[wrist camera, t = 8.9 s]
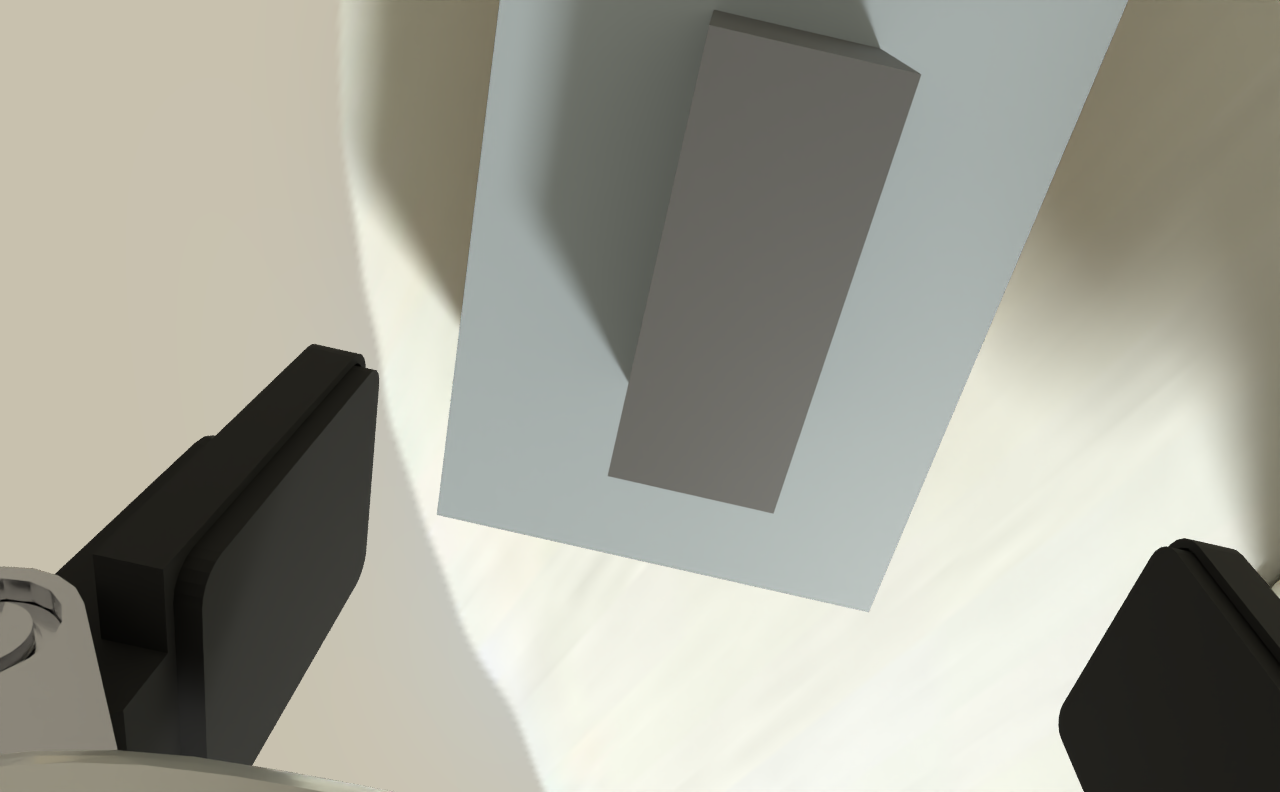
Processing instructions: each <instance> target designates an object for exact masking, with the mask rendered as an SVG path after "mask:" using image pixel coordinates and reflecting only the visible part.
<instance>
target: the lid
mask: <svg viewBox="0 0 1280 792" xmlns="http://www.w3.org/2000/svg"><path fill="white" fill-rule="evenodd" d="M1127 2H1128V0H500V3H499V11H498V19H497V27H496V35H495V43H494V52H493V60H492V68H491V76H490V84H489V93H488V101H487V109H486V117H485V125H484V134H483V142H482V150H481V158H480V166H479V174H478V183H477V191H476V199H475V207H474V215H473V224H472V232H471V240H470V248H469V256H468V264H467V273H466V281H465V289H464V297H463V305H462V314H461V322H460V330H459V338H458V346H457V354H456V363H455V371H454V379H453V387H452V395H451V404H450V412H449V420H448V428H447V436H446V444H445V453H444V461H443V469H442V477H441V485H440V494H439V502H438V510H437V515H440V516H445V517H449V518H453V519H458V520H462V521H467V522H471V523H476V524H480V525H484V526H489V527H493V528H498V529H502V530H507V531H511V532H515V533H520V534H524V535H529V536H533V537H538V538H542V539H546V540H551V541H555V542H560V543H564V544H569V545H573V546H578V547H582V548H586V549H591V550H595V551H600V552H604V553H609V554H613V555H617V556H622V557H626V558H631V559H635V560H640V561H644V562H648V563H653V564H657V565H662V566H666V567H671V568H675V569H679V570H684V571H688V572H693V573H697V574H702V575H706V576H710V577H715V578H719V579H724V580H728V581H733V582H737V583H742V584H746V585H750V586H755V587H759V588H764V589H768V590H773V591H777V592H781V593H786V594H790V595H795V596H799V597H804V598H808V599H812V600H817V601H821V602H826V603H830V604H835V605H839V606H843V607H848V608H852V609H857V610H861V611H866V612H869V610H870V608H871V606H872V603H873V601H874V599H875V596H876V594H877V591H878V589H879V587H880V584H881V582H882V580H883V577H884V575H885V573H886V570H887V568H888V566H889V563H890V561H891V558H892V556H893V554H894V551H895V549H896V547H897V544H898V542H899V540H900V537H901V535H902V533H903V530H904V528H905V525H906V523H907V521H908V518H909V516H910V514H911V511H912V509H913V507H914V504H915V502H916V500H917V497H918V495H919V492H920V490H921V488H922V485H923V483H924V481H925V478H926V476H927V474H928V471H929V469H930V467H931V464H932V462H933V459H934V457H935V455H936V452H937V450H938V448H939V445H940V443H941V441H942V438H943V436H944V434H945V431H946V429H947V426H948V424H949V422H950V419H951V417H952V415H953V412H954V410H955V408H956V405H957V403H958V401H959V398H960V396H961V393H962V391H963V389H964V386H965V384H966V382H967V379H968V377H969V375H970V372H971V370H972V368H973V365H974V363H975V360H976V358H977V356H978V353H979V351H980V349H981V346H982V344H983V342H984V339H985V337H986V335H987V332H988V330H989V327H990V325H991V323H992V320H993V318H994V316H995V313H996V311H997V309H998V306H999V304H1000V302H1001V299H1002V297H1003V294H1004V292H1005V290H1006V287H1007V285H1008V283H1009V280H1010V278H1011V276H1012V273H1013V271H1014V269H1015V266H1016V264H1017V261H1018V259H1019V257H1020V254H1021V252H1022V250H1023V247H1024V245H1025V243H1026V240H1027V238H1028V236H1029V233H1030V231H1031V228H1032V226H1033V224H1034V221H1035V219H1036V217H1037V214H1038V212H1039V210H1040V207H1041V205H1042V203H1043V200H1044V198H1045V195H1046V193H1047V191H1048V188H1049V186H1050V184H1051V181H1052V179H1053V177H1054V174H1055V172H1056V170H1057V167H1058V165H1059V162H1060V160H1061V158H1062V155H1063V153H1064V151H1065V148H1066V146H1067V144H1068V141H1069V139H1070V136H1071V134H1072V132H1073V129H1074V127H1075V125H1076V122H1077V120H1078V118H1079V115H1080V113H1081V111H1082V108H1083V106H1084V103H1085V101H1086V99H1087V96H1088V94H1089V92H1090V89H1091V87H1092V85H1093V82H1094V80H1095V78H1096V75H1097V73H1098V70H1099V68H1100V66H1101V63H1102V61H1103V59H1104V56H1105V54H1106V52H1107V49H1108V47H1109V45H1110V42H1111V40H1112V37H1113V35H1114V33H1115V30H1116V28H1117V26H1118V23H1119V21H1120V19H1121V16H1122V14H1123V12H1124V9H1125V7H1126V4H1127Z"/></svg>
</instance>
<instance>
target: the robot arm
mask: <svg viewBox="0 0 1280 792" xmlns="http://www.w3.org/2000/svg"><path fill="white" fill-rule="evenodd" d="M378 391H379V375H378V372H377V370H372V369H368V368H365V360H364V357H363V356H362V355H361V354H357V353H352V352H348V351H343V350H339V349H335V348H330V347H325V346H321V345H317V344H312V345H310V346H309V347H307V348H306V349H305V350H304V351H303V352H302V353H301V354H300V355H299V356H298V357H297V358H296V359H295V360H294V361H293V362H292V363H291V364H290V365H289V366H288V367H287V368H285V369H284V370H283V371H282V372H281V373H280V374H279V375H278V376H277V377H276V378H275V379H274V380H273V381H272V382H271V383H270V384H269V385H268V386H267V387H266V388H265V389H264V390H263V391H262V392H261V393H259V394H258V395H257V396H256V397H255V398H254V399H253V400H252V401H251V402H250V403H249V404H248V405H247V406H246V407H245V408H244V409H243V410H242V411H241V412H240V413H239V414H238V415H237V416H236V417H235V418H234V419H233V420H231V421H230V422H229V423H228V424H227V425H226V426H225V427H224V428H223V429H222V430H221V431H220V432H219V433H218V434H217V435H216V436H205V437H203V438H201V439H200V440H199V441H197V442H196V443H194V444H193V445H192V446H191V447H190V448H189V449H188V450H187V451H186V452H185V453H184V454H183V455H182V456H181V457H179V458H178V459H177V460H176V461H175V462H174V463H173V464H172V465H171V466H170V467H169V468H168V469H167V470H166V471H164V472H163V473H162V474H161V475H160V476H159V477H158V478H157V479H156V480H155V481H154V482H153V483H152V484H151V485H150V486H148V487H147V488H146V489H145V490H144V491H143V492H142V493H141V494H140V495H139V496H138V497H137V498H136V499H135V500H134V501H133V502H131V503H130V504H129V505H128V506H127V507H126V508H125V509H124V510H123V511H122V512H121V513H120V514H119V515H118V516H117V517H116V518H114V519H113V520H112V521H111V522H110V523H109V524H108V525H107V526H106V527H105V528H104V529H103V530H102V531H100V532H99V533H98V534H97V535H96V536H95V537H94V538H93V539H92V540H91V541H90V542H89V543H88V544H87V545H86V546H84V548H82V549H81V550H80V551H79V552H78V553H77V554H76V555H75V556H74V557H73V558H72V559H71V560H70V561H68V562H67V563H66V565H64V566H63V567H62V568H61V569H60V570H59V571H58V572H57V573H56V574H51V573H47V572H44V571H41V570H37V569H33V568H18V567H0V792H393V791H388V790H383V789H378V788H373V787H367V786H362V785H357V784H351V783H347V782H341V781H336V780H331V779H325V778H319V777H314V776H309V775H303V774H298V773H293V772H287V771H282V770H275V769H269V768H262V767H256V766H252V765H253V763H254V761H255V759H256V758H257V756H258V754H259V753H260V751H261V749H262V747H263V746H264V744H265V742H266V740H267V739H268V737H269V735H270V733H271V731H272V730H273V728H274V726H275V725H276V723H277V721H278V720H279V718H280V716H281V714H282V713H283V711H284V709H285V707H286V706H287V704H288V702H289V700H290V699H291V697H292V695H293V693H294V692H295V690H296V688H297V687H298V685H299V683H300V681H301V680H302V677H303V676H304V674H305V672H306V671H307V669H308V667H309V666H310V664H311V662H312V660H313V659H314V657H315V655H316V654H317V652H318V650H319V648H320V647H321V645H322V643H323V641H324V640H325V638H326V636H327V634H328V633H329V631H330V629H331V627H332V626H333V624H334V622H335V620H336V619H337V617H338V615H339V614H340V612H341V610H342V608H343V607H344V605H345V603H346V601H347V600H348V598H349V596H350V594H351V592H352V591H353V589H354V588H355V586H356V584H357V582H358V580H359V577H360V574H361V572H362V569H363V565H364V561H365V556H366V545H367V533H368V520H369V507H370V506H369V505H370V494H371V481H372V468H373V455H374V442H375V429H376V417H377V416H376V415H377V403H378ZM1059 733H1060V736H1061V739H1062V742H1063V744H1064V746H1065V749H1066V751H1067V753H1068V756H1069V758H1070V760H1071V763H1072V765H1073V767H1074V770H1075V772H1076V774H1077V777H1078V779H1079V781H1080V784H1081V786H1082V789H1083V791H1084V792H1280V580H1279V581H1278V582H1276V583H1275V584H1274V586H1273V587H1272V588H1270V587H1269V586H1268V584H1267V583H1266V582H1265V581H1264V580H1263V579H1262V577H1261V576H1260V575H1259V574H1258V573H1257V572H1256V570H1255V569H1254V568H1253V567H1252V566H1251V565H1250V563H1249V562H1248V561H1247V560H1246V559H1245V558H1244V556H1243V555H1241V554H1240V553H1239V552H1238V551H1237V550H1234V549H1230V548H1226V547H1222V546H1217V545H1213V544H1208V543H1204V542H1199V541H1195V540H1190V539H1186V538H1184V539H1179V540H1176V541H1175V542H1173V543H1172V544H1170V546H1169V547H1161V548H1159V549H1158V550H1156V551H1155V552H1154V554H1153V555H1152V556H1151V558H1150V559H1149V561H1148V563H1147V564H1146V566H1145V568H1144V569H1143V571H1142V573H1141V574H1140V576H1139V578H1138V579H1137V581H1136V583H1135V585H1134V586H1133V588H1132V590H1131V591H1130V593H1129V595H1128V596H1127V598H1126V600H1125V601H1124V603H1123V605H1122V606H1121V608H1120V610H1119V611H1118V613H1117V615H1116V616H1115V618H1114V620H1113V621H1112V623H1111V625H1110V626H1109V628H1108V630H1107V631H1106V633H1105V635H1104V636H1103V638H1102V640H1101V641H1100V643H1099V645H1098V646H1097V648H1096V650H1095V651H1094V653H1093V655H1092V656H1091V658H1090V660H1089V661H1088V663H1087V665H1086V667H1085V668H1084V670H1083V672H1082V673H1081V675H1080V677H1079V678H1078V680H1077V682H1076V683H1075V685H1074V687H1073V688H1072V690H1071V692H1070V693H1069V695H1068V697H1067V698H1066V700H1065V702H1064V703H1063V705H1062V708H1061V710H1060V715H1059Z"/></svg>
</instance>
